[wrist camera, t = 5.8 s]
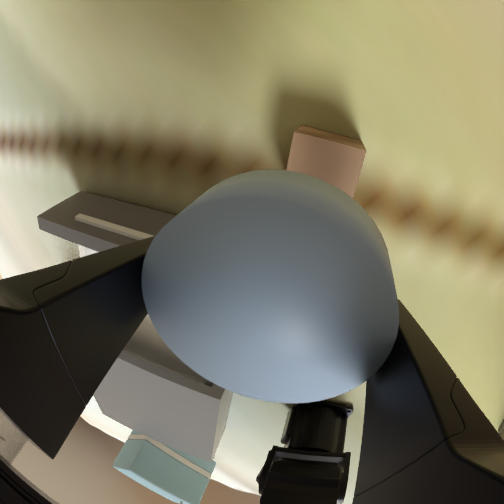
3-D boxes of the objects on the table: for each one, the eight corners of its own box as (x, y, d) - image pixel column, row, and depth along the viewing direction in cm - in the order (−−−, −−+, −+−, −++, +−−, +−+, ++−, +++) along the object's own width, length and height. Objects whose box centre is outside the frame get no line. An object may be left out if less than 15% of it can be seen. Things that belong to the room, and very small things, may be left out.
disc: (426, 211, 7) (449, 251, 5) (343, 374, 10) (339, 420, 8) (182, 146, 8) (138, 166, 6) (175, 322, 11) (150, 360, 9)
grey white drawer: (261, 234, 23) (236, 278, 18) (232, 383, 33) (215, 423, 28) (80, 188, 25) (36, 213, 20) (105, 332, 36) (80, 362, 31)
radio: (135, 420, 52) (91, 496, 35) (157, 417, 47) (108, 506, 30) (192, 458, 55) (158, 530, 39) (218, 459, 51) (183, 540, 34)
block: (361, 141, 18) (366, 150, 15) (346, 196, 20) (347, 216, 17) (301, 125, 18) (293, 131, 16) (289, 181, 21) (280, 198, 18)
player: (241, 349, 30) (220, 399, 25) (225, 427, 41) (211, 462, 36) (98, 295, 33) (65, 329, 28) (122, 384, 44) (103, 413, 38)
